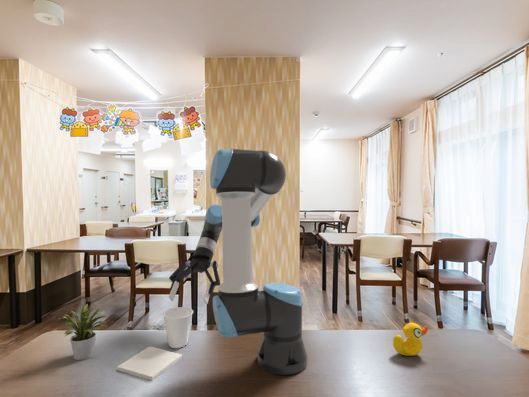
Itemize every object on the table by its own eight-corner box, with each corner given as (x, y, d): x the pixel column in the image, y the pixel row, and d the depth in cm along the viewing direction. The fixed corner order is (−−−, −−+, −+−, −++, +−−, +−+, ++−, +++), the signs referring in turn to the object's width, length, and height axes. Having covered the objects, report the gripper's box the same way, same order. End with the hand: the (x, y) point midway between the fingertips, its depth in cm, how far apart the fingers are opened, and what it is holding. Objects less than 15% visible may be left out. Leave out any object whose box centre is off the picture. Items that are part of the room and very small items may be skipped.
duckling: (421, 349, 106) (421, 319, 106) (432, 357, 101) (432, 326, 100) (389, 351, 104) (389, 321, 104) (398, 360, 99) (399, 328, 99)
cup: (185, 353, 103) (185, 319, 102) (157, 350, 105) (157, 316, 104) (198, 339, 112) (197, 308, 112) (171, 336, 114) (171, 306, 114)
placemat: (182, 357, 100) (182, 354, 100) (152, 380, 88) (152, 377, 88) (149, 349, 105) (149, 346, 105) (117, 370, 93) (117, 366, 93)
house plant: (78, 374, 91) (77, 317, 90) (43, 365, 95) (42, 311, 95) (116, 350, 104) (116, 301, 104) (84, 344, 109) (83, 296, 108)
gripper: (236, 258, 130) (222, 308, 116) (180, 254, 136) (161, 302, 122) (231, 247, 125) (217, 298, 111) (173, 244, 131) (152, 292, 116)
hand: (187, 300), depth 116 cm, fingers open, 13 cm apart
